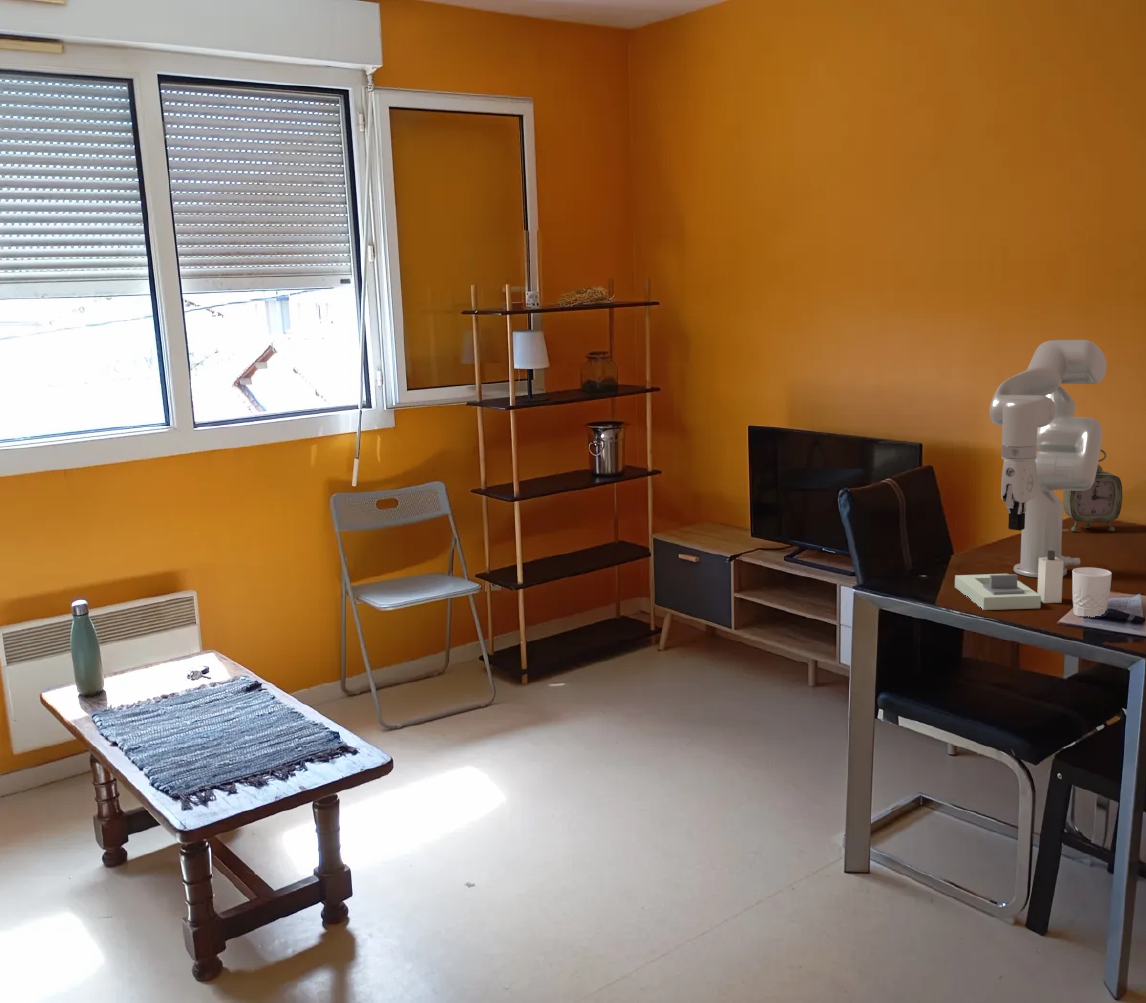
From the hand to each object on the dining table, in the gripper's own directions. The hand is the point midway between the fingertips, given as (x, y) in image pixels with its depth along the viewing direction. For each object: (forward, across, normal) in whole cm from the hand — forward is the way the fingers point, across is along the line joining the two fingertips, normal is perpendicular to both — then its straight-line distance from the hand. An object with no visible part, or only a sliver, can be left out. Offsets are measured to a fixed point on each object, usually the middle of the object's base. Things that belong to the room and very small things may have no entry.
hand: (1016, 529), depth 246 cm
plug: (+17, +3, -7) cm, 19 cm away
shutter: (+14, -5, +1) cm, 15 cm away
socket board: (+17, -2, +4) cm, 17 cm away
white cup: (+17, -4, -18) cm, 25 cm away
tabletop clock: (+18, +83, +10) cm, 85 cm away
